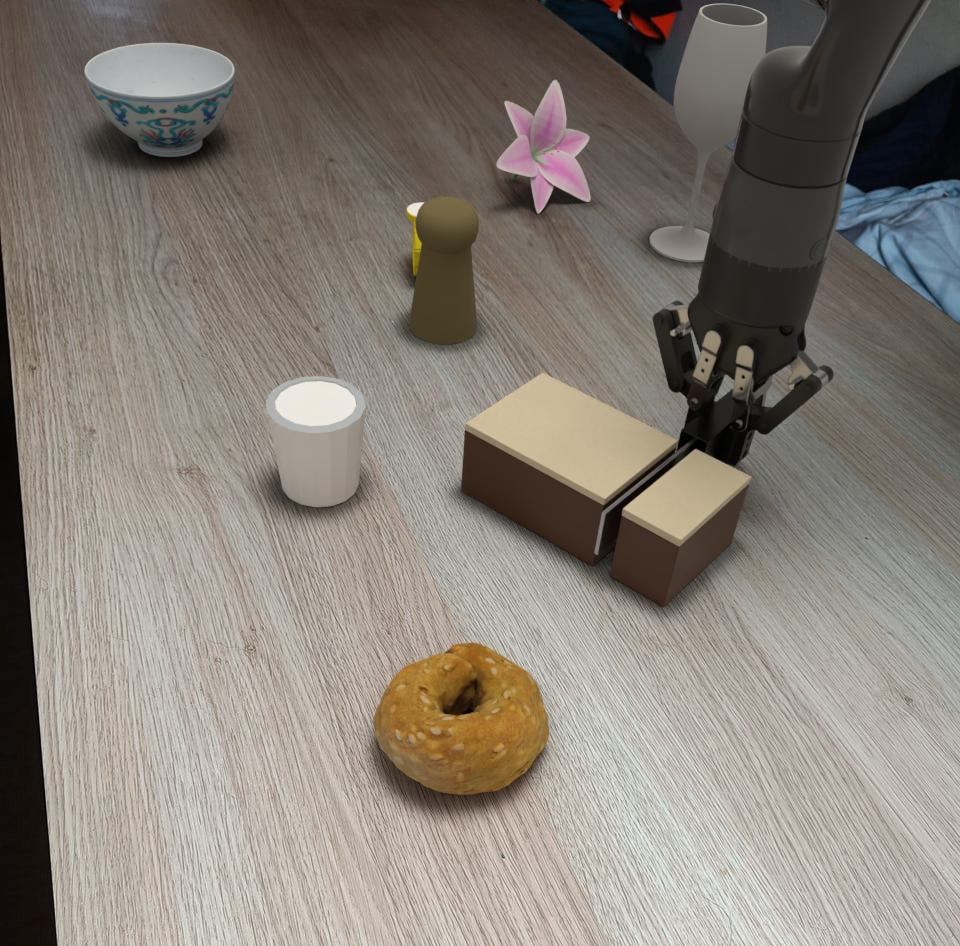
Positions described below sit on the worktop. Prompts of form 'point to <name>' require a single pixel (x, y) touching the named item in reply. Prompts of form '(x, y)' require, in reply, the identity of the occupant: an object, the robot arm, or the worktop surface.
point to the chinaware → (162, 93)
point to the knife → (673, 462)
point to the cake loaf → (558, 461)
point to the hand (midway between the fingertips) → (711, 454)
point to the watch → (414, 234)
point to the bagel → (462, 720)
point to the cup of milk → (317, 438)
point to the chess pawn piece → (445, 272)
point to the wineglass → (711, 103)
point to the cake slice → (678, 526)
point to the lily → (546, 149)
